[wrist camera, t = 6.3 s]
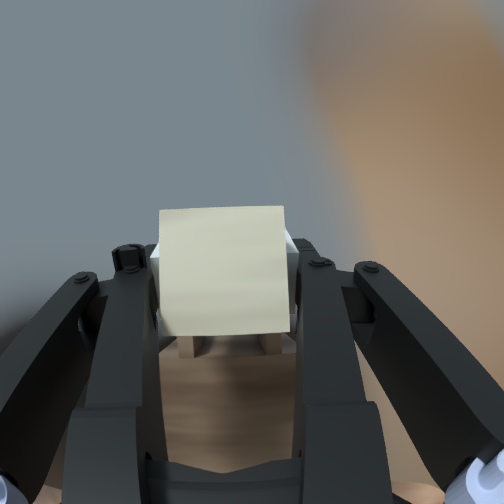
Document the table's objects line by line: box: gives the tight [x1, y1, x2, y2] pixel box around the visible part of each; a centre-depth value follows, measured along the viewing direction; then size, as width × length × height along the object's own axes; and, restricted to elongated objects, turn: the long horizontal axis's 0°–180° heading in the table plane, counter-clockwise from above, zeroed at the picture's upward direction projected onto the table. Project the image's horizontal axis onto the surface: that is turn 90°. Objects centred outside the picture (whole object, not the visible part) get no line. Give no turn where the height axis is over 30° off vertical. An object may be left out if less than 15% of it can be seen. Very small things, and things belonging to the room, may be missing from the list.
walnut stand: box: [159, 332, 296, 473], centre depth 21 cm, size 12×12×32 cm
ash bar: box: [159, 206, 290, 336], centre depth 20 cm, size 22×4×4 cm, turn 3°
